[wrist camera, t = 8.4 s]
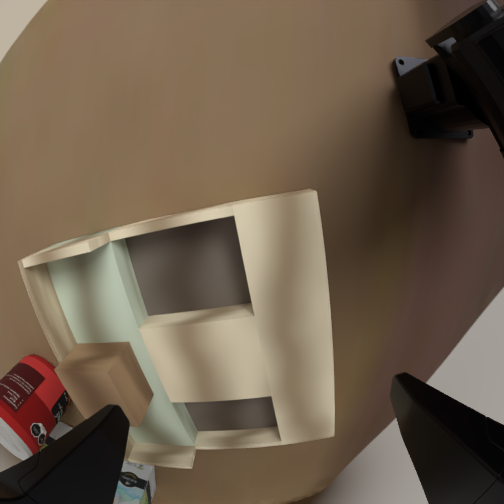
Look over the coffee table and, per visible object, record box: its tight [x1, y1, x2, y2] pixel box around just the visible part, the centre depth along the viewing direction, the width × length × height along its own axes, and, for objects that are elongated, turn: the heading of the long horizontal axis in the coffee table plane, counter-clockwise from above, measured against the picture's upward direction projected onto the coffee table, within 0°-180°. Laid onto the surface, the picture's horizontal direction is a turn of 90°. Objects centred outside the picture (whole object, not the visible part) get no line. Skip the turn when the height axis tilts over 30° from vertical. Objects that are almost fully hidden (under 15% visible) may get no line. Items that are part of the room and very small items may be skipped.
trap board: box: [18, 189, 335, 469], centre depth 20 cm, size 21×22×5 cm
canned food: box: [0, 355, 71, 460], centre depth 20 cm, size 8×8×11 cm
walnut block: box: [54, 341, 154, 427], centre depth 18 cm, size 6×6×4 cm
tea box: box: [39, 421, 156, 504], centre depth 22 cm, size 15×10×15 cm, turn 77°
